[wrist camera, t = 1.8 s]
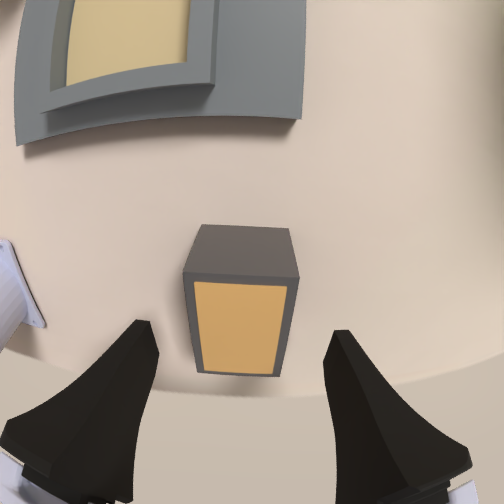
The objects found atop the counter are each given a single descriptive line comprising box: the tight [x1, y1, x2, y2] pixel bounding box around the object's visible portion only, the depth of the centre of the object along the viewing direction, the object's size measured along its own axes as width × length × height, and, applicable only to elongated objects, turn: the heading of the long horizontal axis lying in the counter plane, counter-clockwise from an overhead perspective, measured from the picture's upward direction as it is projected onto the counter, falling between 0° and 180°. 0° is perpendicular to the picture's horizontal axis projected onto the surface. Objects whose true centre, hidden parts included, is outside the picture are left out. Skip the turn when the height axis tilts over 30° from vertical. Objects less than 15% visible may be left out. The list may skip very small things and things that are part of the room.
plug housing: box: [183, 224, 300, 377], centre depth 12 cm, size 4×6×4 cm, turn 177°
